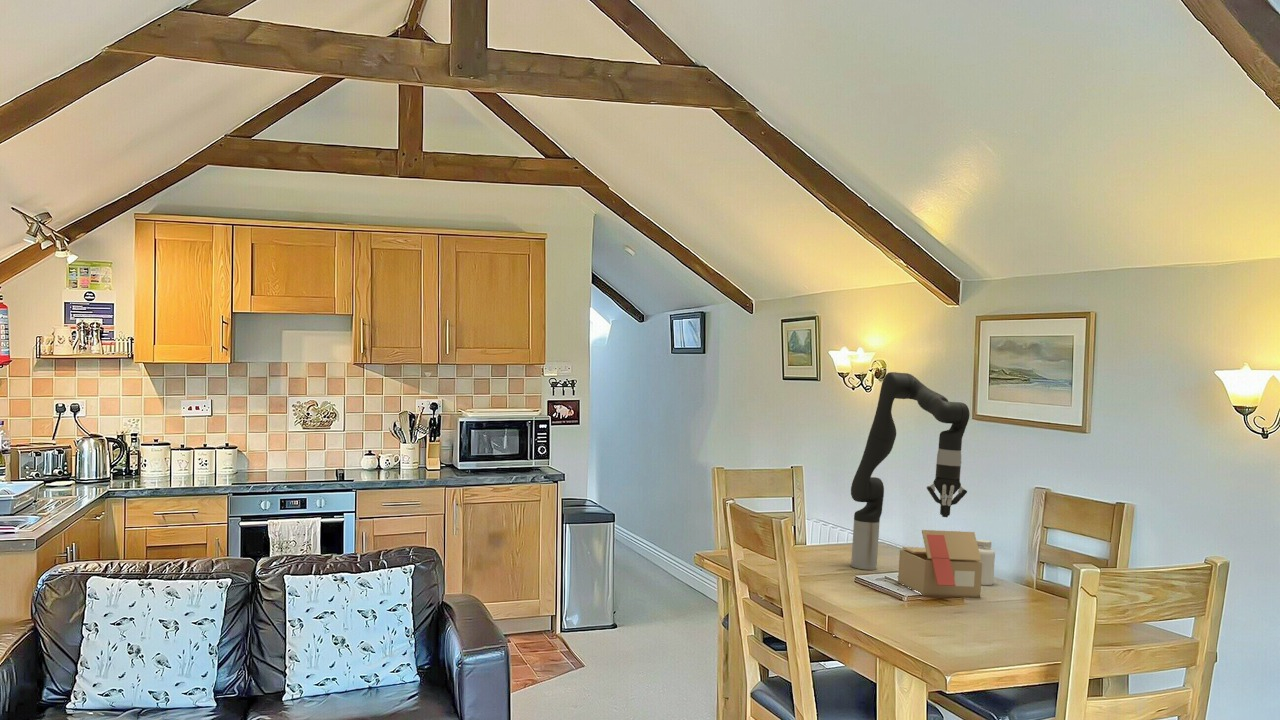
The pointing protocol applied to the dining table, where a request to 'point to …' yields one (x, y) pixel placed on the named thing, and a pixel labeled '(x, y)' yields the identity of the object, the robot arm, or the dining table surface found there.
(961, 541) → the flap
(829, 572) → the dining table surface
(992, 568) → the pill bottle
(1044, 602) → the dining table surface
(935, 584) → the carton
